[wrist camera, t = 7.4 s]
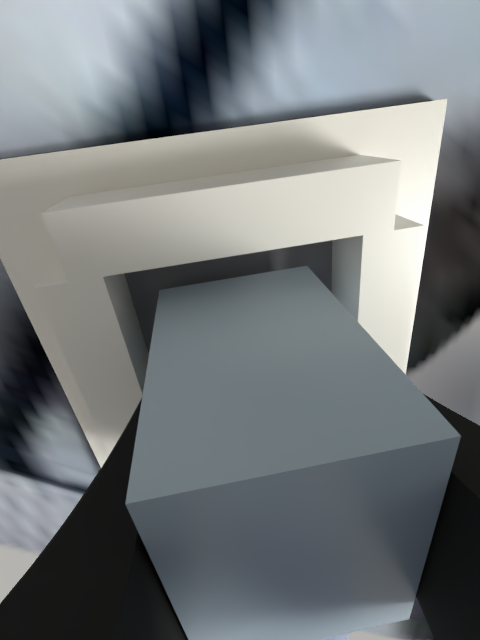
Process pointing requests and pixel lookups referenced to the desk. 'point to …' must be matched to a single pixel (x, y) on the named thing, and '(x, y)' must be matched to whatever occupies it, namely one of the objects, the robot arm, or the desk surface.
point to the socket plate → (213, 235)
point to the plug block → (282, 463)
